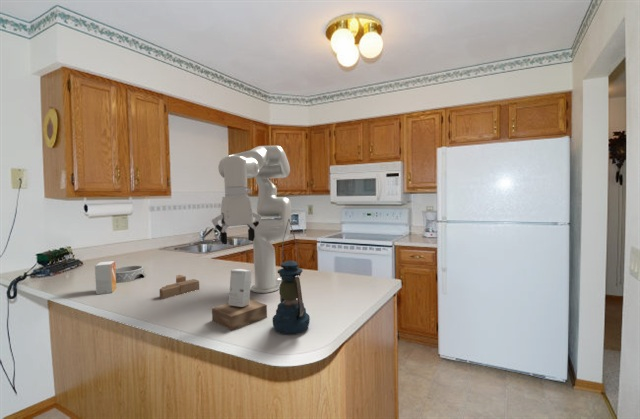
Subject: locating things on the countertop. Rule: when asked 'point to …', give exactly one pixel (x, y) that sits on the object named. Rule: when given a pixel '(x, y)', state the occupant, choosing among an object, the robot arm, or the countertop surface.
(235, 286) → the skincare box
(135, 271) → the dog bowl
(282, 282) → the lantern
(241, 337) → the countertop surface
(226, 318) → the brown cardboard box
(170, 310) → the countertop surface
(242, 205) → the robot arm
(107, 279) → the small box
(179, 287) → the wooden block set
